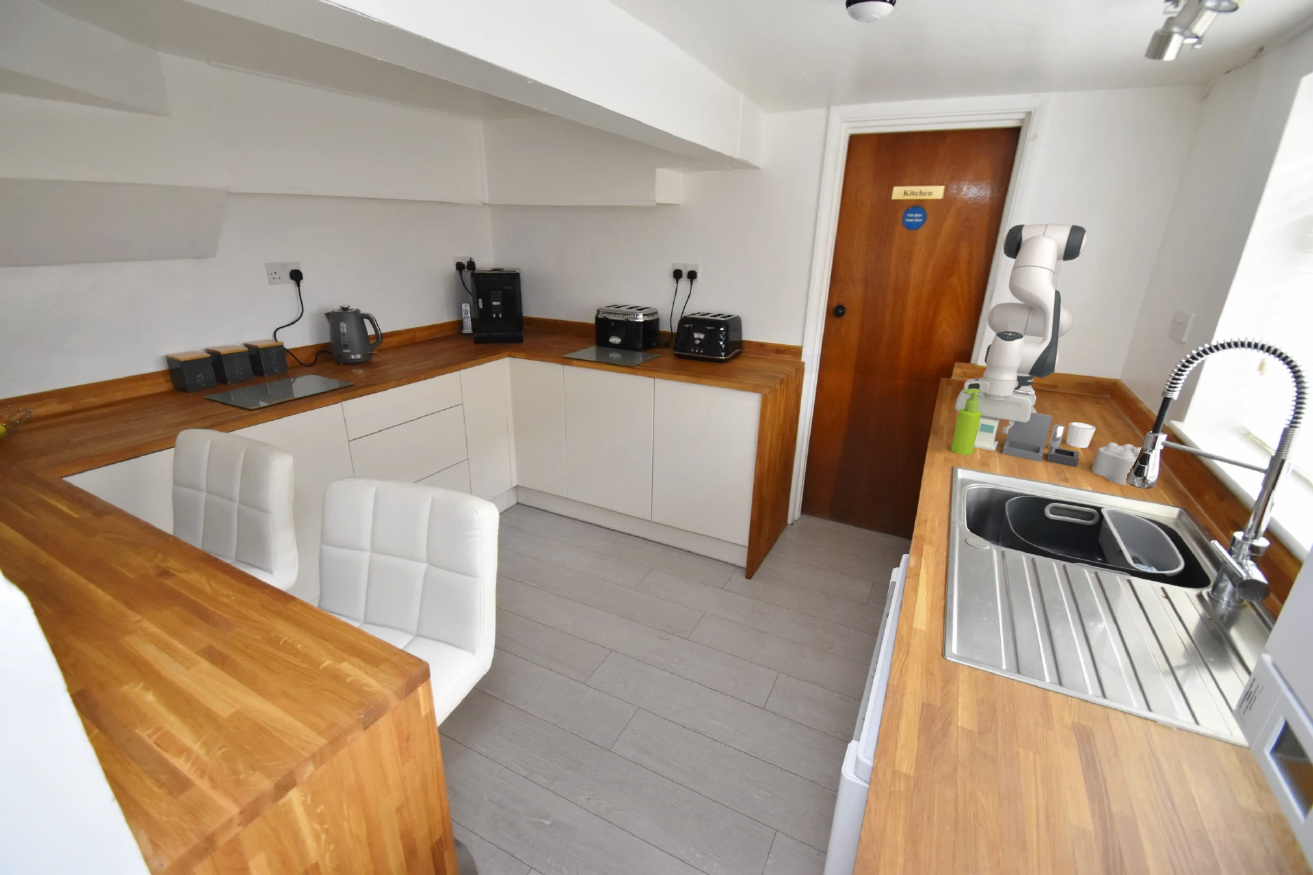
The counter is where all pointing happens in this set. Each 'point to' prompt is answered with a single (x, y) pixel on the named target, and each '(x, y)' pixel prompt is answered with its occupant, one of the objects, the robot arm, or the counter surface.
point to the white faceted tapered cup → (1079, 434)
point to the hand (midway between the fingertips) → (987, 429)
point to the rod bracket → (1063, 456)
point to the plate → (987, 446)
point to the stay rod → (1056, 436)
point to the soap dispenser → (967, 425)
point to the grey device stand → (1028, 437)
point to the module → (987, 431)
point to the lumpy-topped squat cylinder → (1115, 461)
